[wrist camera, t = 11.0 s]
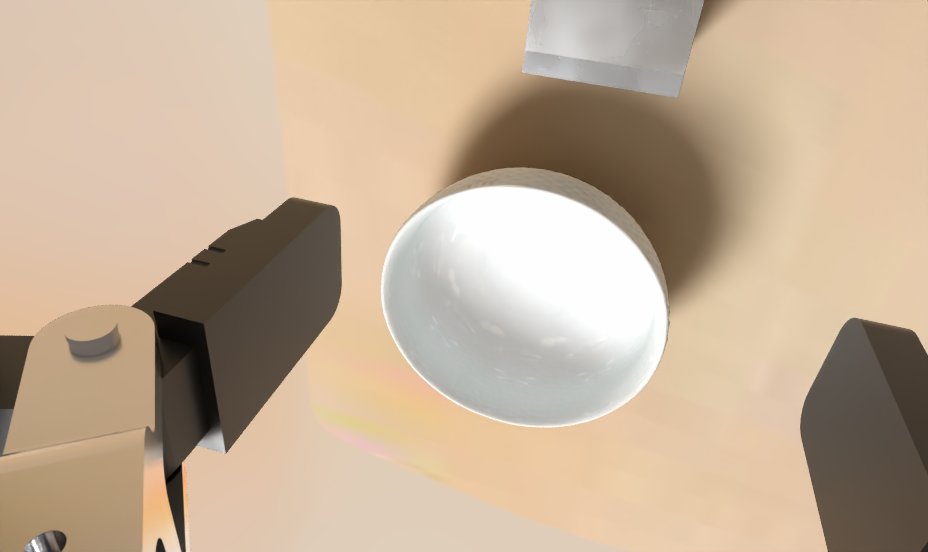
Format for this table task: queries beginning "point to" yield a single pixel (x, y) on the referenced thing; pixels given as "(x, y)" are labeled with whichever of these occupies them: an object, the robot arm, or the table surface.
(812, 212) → the table surface
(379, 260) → the table surface
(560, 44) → the sleeve
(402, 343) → the cereal bowl
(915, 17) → the table surface
